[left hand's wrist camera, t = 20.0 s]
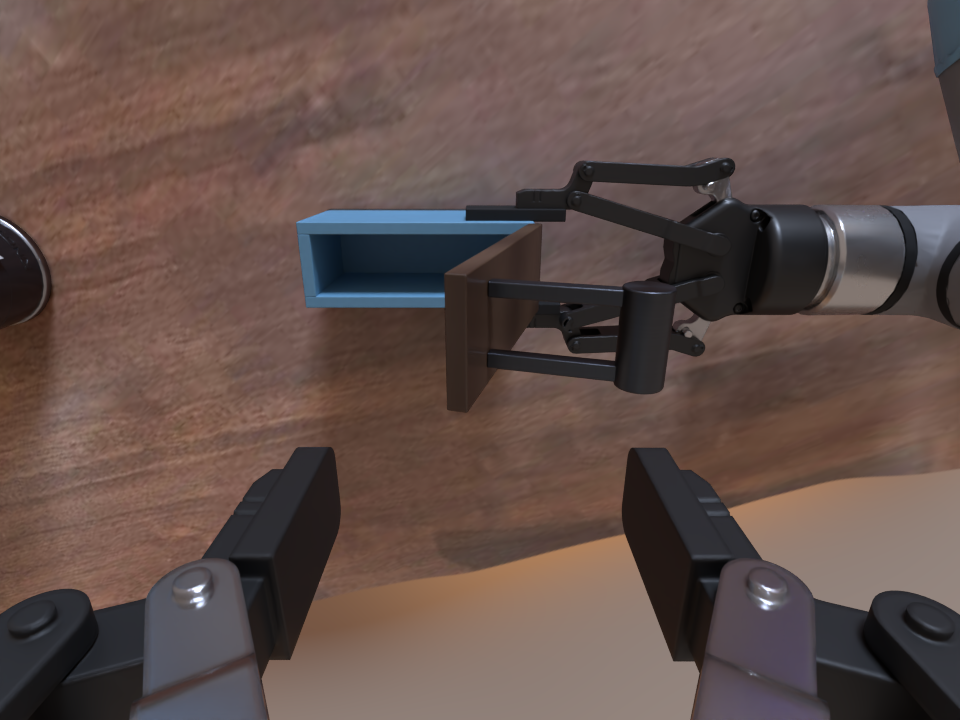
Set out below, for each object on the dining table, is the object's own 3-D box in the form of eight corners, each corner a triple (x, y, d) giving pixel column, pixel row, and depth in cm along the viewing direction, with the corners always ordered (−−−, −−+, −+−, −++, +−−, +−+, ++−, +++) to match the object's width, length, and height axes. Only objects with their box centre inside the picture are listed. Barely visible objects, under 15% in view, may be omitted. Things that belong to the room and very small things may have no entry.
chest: (337, 280, 44) (305, 307, 36) (330, 209, 42) (295, 222, 34) (522, 280, 44) (531, 308, 36) (524, 209, 42) (534, 222, 34)
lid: (446, 410, 22) (663, 440, 19) (443, 272, 20) (685, 288, 17) (525, 309, 36) (656, 319, 33) (528, 223, 34) (668, 228, 31)
